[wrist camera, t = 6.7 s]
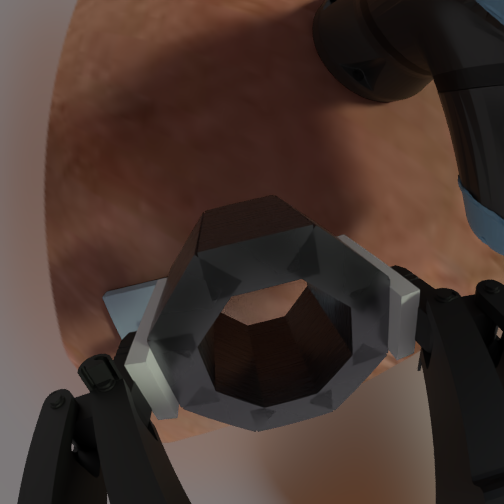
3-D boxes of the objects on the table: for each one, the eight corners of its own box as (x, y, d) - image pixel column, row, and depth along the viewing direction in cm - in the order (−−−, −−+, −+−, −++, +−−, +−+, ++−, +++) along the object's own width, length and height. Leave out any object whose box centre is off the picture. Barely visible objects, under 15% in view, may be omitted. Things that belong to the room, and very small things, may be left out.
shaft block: (106, 291, 32) (68, 348, 21) (201, 268, 32) (195, 326, 21) (143, 368, 36) (126, 433, 25) (228, 353, 36) (234, 421, 25)
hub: (156, 223, 13) (117, 272, 8) (320, 184, 14) (387, 207, 8) (203, 357, 16) (202, 441, 10) (337, 323, 16) (384, 392, 11)
